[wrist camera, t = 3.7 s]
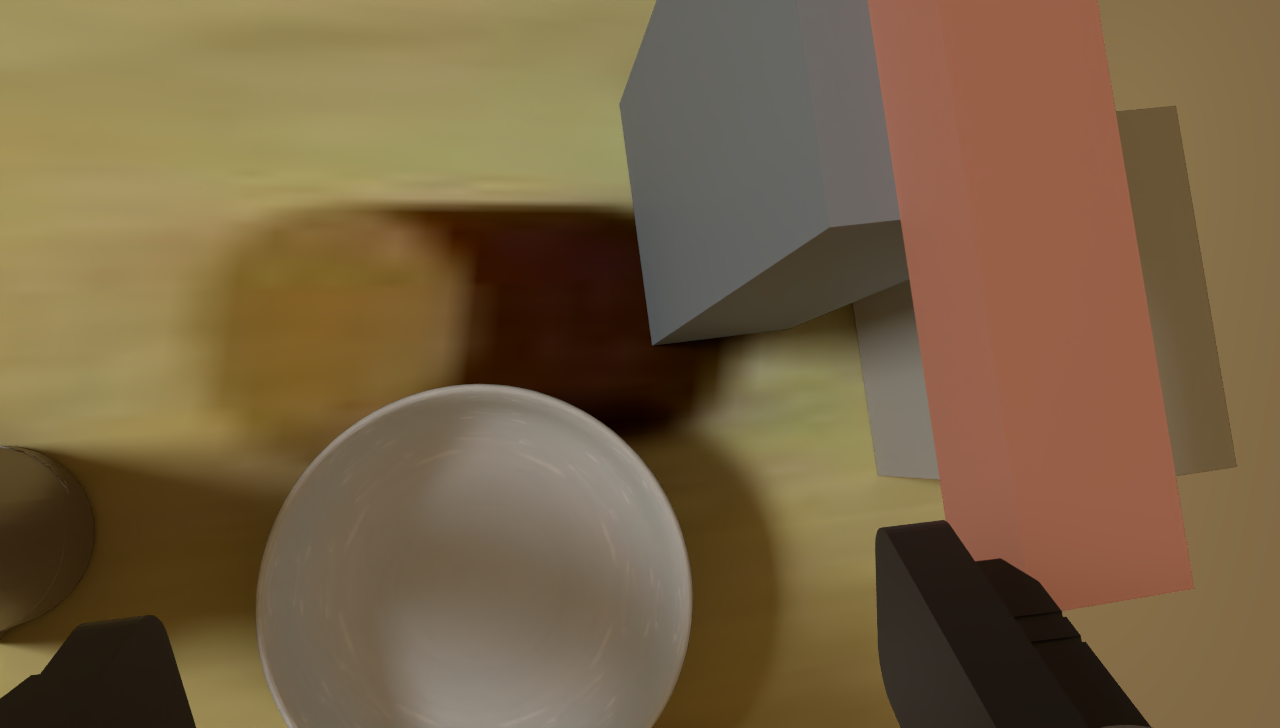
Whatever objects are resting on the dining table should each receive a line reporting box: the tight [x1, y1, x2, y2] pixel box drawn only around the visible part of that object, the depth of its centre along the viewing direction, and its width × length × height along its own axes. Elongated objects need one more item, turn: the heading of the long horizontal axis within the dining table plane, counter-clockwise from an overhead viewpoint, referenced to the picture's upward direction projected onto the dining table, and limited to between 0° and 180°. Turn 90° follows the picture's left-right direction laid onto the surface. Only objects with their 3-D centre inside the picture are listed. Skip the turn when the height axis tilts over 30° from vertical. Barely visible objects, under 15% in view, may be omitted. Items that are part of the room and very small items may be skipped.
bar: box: [867, 0, 1194, 611], centre depth 27 cm, size 26×4×4 cm, turn 8°
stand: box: [620, 0, 1237, 479], centre depth 45 cm, size 23×18×32 cm
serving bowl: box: [255, 384, 693, 728], centre depth 54 cm, size 21×21×7 cm
